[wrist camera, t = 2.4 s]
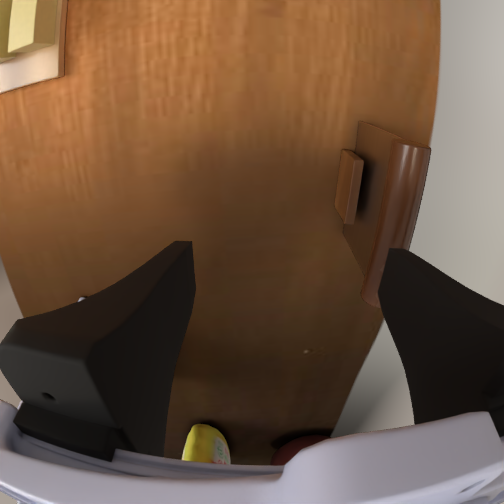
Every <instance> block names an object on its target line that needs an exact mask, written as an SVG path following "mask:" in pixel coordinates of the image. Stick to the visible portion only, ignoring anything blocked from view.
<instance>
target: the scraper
mask: <svg viewBox="0 0 504 504" xmlns="http://www.w3.org/2000/svg"><path fill="white" fill-rule="evenodd" d="M355 154H356V155H357V156H358V157H360V158H361V159H362V160H363V161H364V164H363V171H362V178H361V184H360V191H359V197H358V203H357V209H356V214H355V220H354V225H349V224H344V230H343V234H344V236H345V238H346V240H347V242H348V244H349V246H350V248H351V250H352V252H353V254H354V256H355V258H356V260H357V262H358V264H359V266H360V268H361V270H362V273H363V275H364V277H365V278H364V281H363V285H362V289H361V297H362V299H363V300H364V301H365V302H366V303H368V304H369V305H372V306H375V307H381V305H380V301H379V297H378V289H379V285H380V282H381V278H382V275H383V271H384V267H385V263H386V259H387V255H388V251H389V248H403V249H406V250H408V251H409V248H410V243H411V240H412V237H413V233H414V229H415V225H416V221H417V217H418V213H419V209H420V204H421V200H422V195H423V191H424V186H425V181H426V176H427V171H428V165H429V160H430V155H431V148H430V147H429V146H426V145H424V144H421V143H418V142H414V141H410V140H406V139H404V138H401V137H399V136H397V135H395V134H392V133H390V132H388V131H385V130H383V129H380V128H378V127H375V126H373V125H370V124H368V123H365V122H363V121H359V125H358V134H357V142H356V150H355Z"/></svg>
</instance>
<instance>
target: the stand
mask: <svg viewBox="0 0 504 504" xmlns="http://www.w3.org/2000/svg"><path fill="white" fill-rule="evenodd" d="M363 164H364V161H363V160H362V159H361V158H360V157H358V156H357V155H356V154H354V153H353V152H352V151H350V150H345V149H342V151H341V159H340V167H339V175H338V183H337V190H336V197H335V204H334V206H335V208H336V210H337V212H338V213H339V215H340V217H341V219H342V220H343V222H344V224H349V225H354V220H355V214H356V209H357V203H358V197H359V191H360V184H361V178H362V171H363Z"/></svg>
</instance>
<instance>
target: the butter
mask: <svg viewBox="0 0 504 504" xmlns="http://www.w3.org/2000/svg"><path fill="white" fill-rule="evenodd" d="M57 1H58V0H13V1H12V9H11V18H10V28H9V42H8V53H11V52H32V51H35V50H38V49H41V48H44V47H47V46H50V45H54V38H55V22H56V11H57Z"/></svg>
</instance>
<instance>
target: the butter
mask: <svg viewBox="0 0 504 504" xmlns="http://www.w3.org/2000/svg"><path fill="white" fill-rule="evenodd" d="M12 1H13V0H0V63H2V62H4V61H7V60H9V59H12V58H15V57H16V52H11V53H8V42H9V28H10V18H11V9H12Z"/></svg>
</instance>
